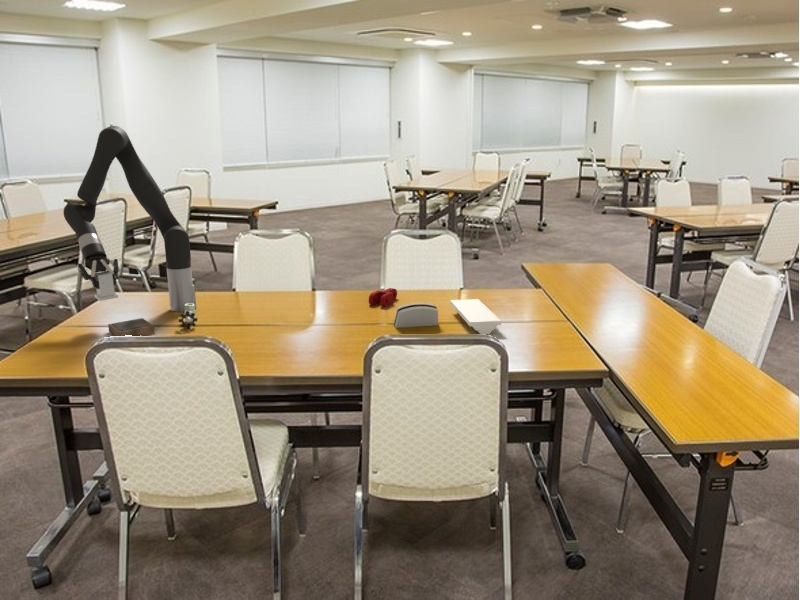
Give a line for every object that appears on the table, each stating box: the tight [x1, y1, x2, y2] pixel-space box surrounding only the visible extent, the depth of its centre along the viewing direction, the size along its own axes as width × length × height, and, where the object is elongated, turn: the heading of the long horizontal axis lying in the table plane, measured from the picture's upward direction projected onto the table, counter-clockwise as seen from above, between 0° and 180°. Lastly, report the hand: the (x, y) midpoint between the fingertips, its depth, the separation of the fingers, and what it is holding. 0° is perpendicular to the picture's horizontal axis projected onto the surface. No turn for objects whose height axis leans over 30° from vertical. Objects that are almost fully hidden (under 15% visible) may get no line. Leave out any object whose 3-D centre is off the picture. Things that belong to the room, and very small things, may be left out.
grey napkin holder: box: [393, 302, 439, 329], centre depth 237 cm, size 17×5×10 cm, turn 102°
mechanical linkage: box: [368, 287, 398, 308], centre depth 269 cm, size 16×7×5 cm, turn 152°
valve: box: [178, 303, 199, 329], centre depth 239 cm, size 7×7×12 cm
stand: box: [107, 317, 155, 337], centre depth 228 cm, size 12×12×3 cm
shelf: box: [449, 298, 502, 336], centre depth 242 cm, size 12×30×5 cm, turn 9°
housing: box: [94, 272, 119, 302], centre depth 232 cm, size 6×6×9 cm
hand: (105, 285), depth 231 cm, fingers closed on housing, 5 cm apart
